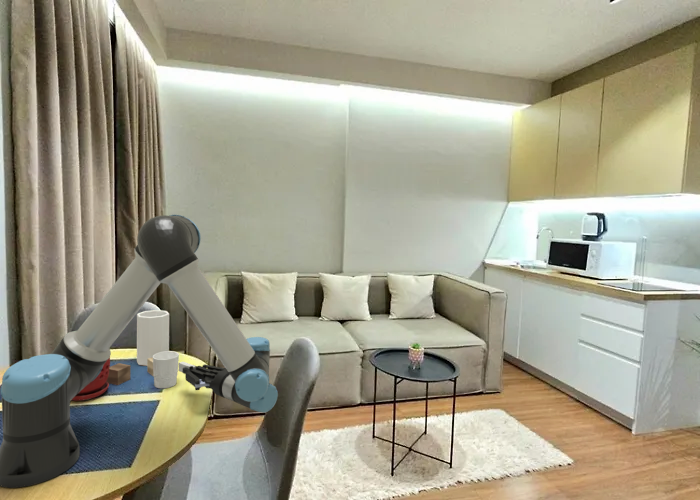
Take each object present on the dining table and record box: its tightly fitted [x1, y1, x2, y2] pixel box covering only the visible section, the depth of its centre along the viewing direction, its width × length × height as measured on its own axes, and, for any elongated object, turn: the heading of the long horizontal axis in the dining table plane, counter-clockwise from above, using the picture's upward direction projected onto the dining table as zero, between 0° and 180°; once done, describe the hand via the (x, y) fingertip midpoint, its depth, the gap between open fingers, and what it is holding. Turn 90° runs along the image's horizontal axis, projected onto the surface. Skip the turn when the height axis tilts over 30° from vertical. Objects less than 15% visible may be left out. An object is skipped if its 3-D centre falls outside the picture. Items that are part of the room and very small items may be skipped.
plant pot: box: [71, 356, 111, 402], centre depth 120 cm, size 13×13×12 cm
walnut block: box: [106, 362, 132, 386], centre depth 131 cm, size 5×5×5 cm
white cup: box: [153, 350, 180, 389], centre depth 130 cm, size 8×8×10 cm
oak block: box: [146, 357, 154, 377], centre depth 139 cm, size 5×5×5 cm
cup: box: [136, 309, 170, 367], centre depth 149 cm, size 11×11×18 cm
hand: (180, 366), depth 126 cm, fingers closed
